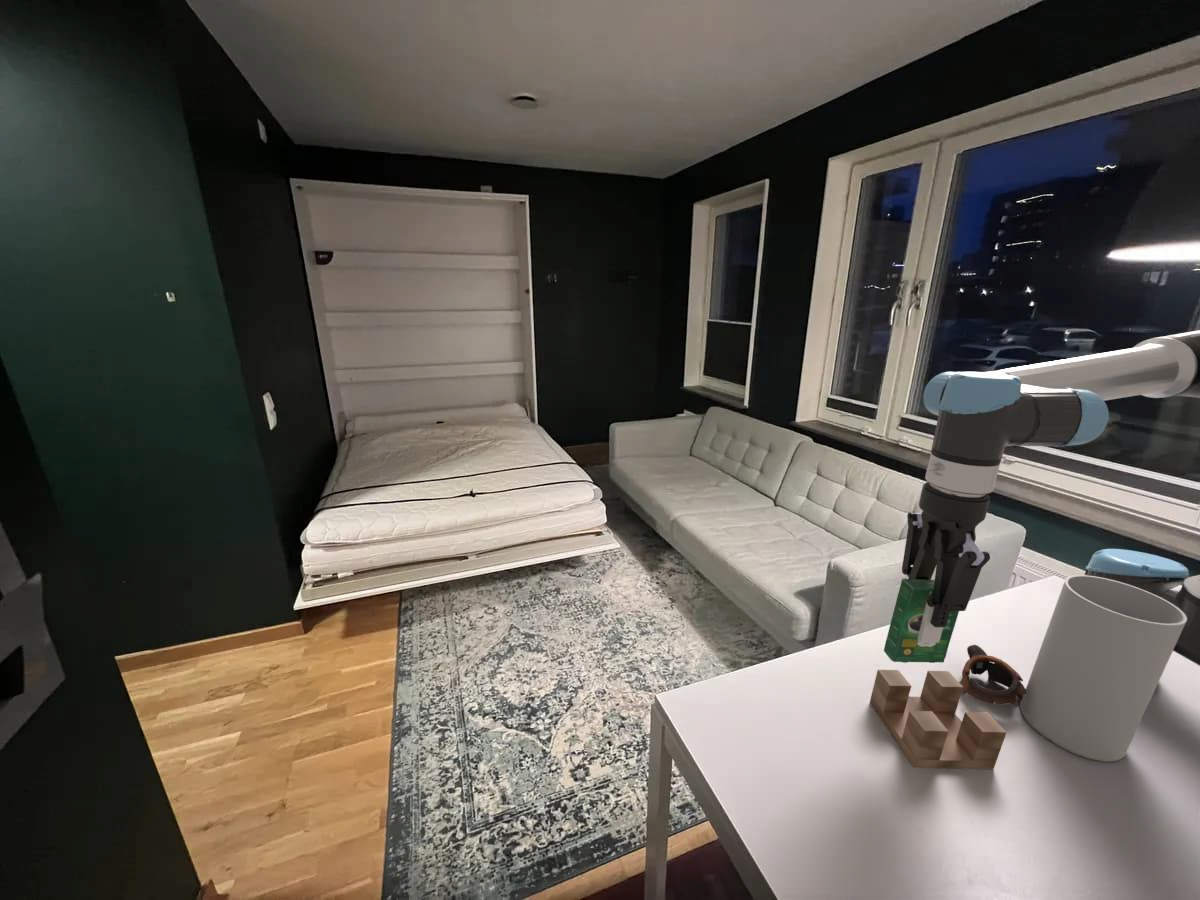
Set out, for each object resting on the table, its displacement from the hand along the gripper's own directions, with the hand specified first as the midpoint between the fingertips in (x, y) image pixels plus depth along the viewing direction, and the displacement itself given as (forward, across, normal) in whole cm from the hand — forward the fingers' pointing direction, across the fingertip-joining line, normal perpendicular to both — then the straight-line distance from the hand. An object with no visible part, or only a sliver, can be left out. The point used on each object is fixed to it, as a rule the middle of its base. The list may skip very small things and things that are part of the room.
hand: (920, 632), depth 71 cm
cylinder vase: (+19, -1, +29) cm, 35 cm away
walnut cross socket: (+19, +1, +5) cm, 19 cm away
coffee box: (+5, 0, 0) cm, 5 cm away
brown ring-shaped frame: (+19, -9, +22) cm, 30 cm away
